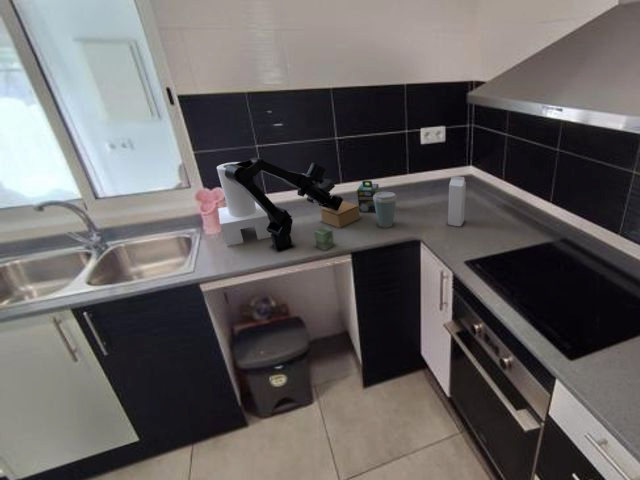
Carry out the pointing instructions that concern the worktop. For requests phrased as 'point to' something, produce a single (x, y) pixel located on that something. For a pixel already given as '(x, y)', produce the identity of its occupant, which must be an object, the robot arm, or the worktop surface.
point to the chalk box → (367, 196)
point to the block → (324, 238)
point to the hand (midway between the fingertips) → (336, 207)
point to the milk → (456, 201)
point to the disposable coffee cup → (385, 208)
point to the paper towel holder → (239, 211)
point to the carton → (341, 215)
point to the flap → (340, 211)
